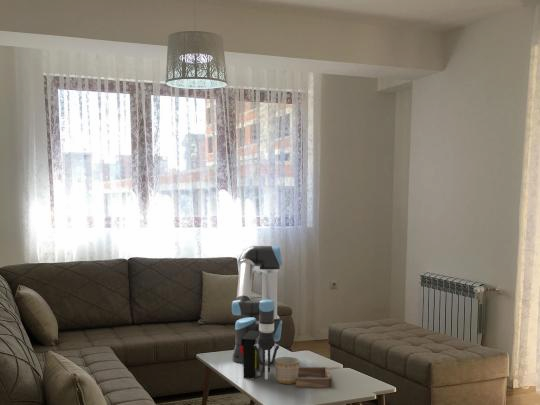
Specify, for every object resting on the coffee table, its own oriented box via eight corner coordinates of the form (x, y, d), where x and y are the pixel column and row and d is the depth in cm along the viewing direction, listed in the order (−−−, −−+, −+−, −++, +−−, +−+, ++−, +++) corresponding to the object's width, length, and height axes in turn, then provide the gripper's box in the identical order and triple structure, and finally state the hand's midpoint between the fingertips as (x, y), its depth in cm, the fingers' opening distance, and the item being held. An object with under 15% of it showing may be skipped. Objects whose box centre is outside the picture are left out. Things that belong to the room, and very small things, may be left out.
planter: (273, 377, 279) (273, 356, 279) (297, 376, 280) (297, 356, 280) (275, 385, 266) (275, 364, 266) (300, 385, 267) (300, 363, 267)
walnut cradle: (293, 375, 282) (293, 367, 282) (326, 374, 283) (326, 367, 283) (295, 387, 264) (295, 379, 264) (331, 387, 264) (331, 378, 264)
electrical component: (259, 379, 276) (259, 339, 276) (239, 377, 278) (239, 338, 278) (266, 368, 293) (266, 331, 293) (248, 367, 295) (248, 330, 295)
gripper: (253, 333, 268) (253, 380, 268) (279, 333, 268) (279, 380, 268) (253, 329, 275) (253, 375, 275) (279, 329, 275) (279, 376, 275)
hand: (266, 378), depth 272 cm, fingers closed
